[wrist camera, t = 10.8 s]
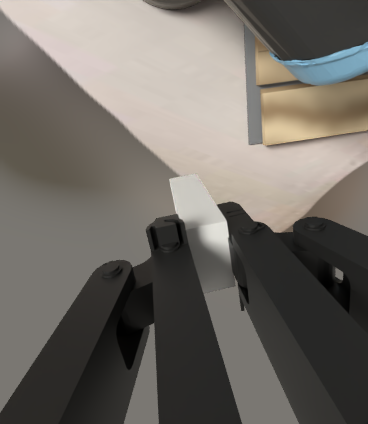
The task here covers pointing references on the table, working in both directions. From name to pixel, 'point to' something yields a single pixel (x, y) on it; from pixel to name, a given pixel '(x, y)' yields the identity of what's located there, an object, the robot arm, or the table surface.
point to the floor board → (269, 67)
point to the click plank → (314, 110)
